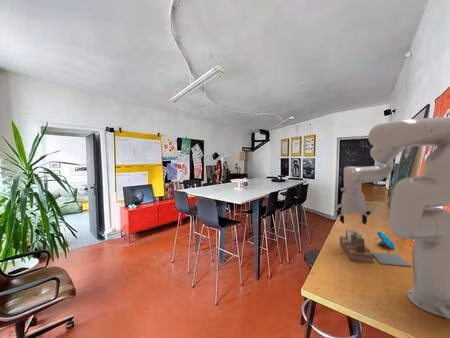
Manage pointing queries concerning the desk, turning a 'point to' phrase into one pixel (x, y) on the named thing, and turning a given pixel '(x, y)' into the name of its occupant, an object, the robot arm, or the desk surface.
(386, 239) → the blue bumpy piece
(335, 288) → the desk surface
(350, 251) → the brown stepped block
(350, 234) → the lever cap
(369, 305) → the desk surface
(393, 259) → the mat
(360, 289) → the desk surface
